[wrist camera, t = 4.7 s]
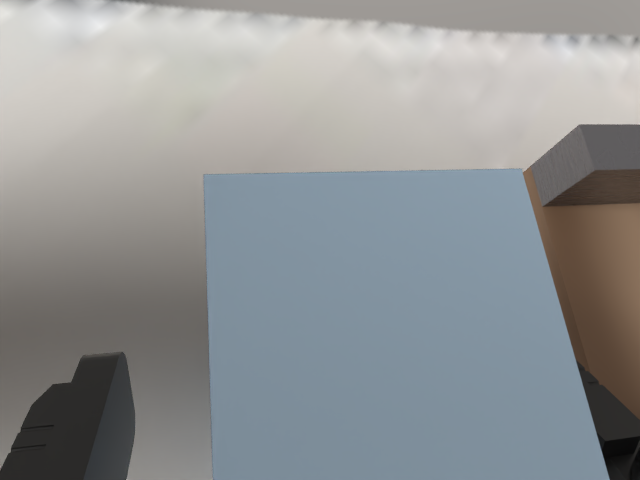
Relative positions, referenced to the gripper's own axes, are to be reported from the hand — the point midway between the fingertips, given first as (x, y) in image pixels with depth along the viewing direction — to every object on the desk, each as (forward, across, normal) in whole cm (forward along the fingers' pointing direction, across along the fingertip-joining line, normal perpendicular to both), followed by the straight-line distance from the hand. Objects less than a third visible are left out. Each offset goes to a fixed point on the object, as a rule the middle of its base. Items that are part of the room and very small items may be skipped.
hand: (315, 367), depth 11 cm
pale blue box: (+4, 0, +5) cm, 6 cm away
